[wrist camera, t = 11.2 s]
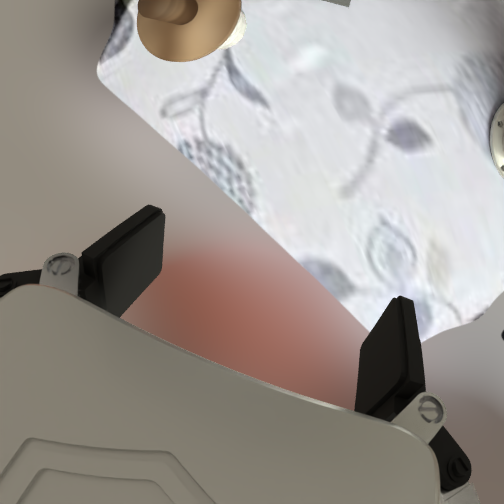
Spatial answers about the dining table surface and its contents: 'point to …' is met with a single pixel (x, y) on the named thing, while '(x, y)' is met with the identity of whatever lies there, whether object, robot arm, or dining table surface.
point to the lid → (186, 27)
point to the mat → (340, 2)
